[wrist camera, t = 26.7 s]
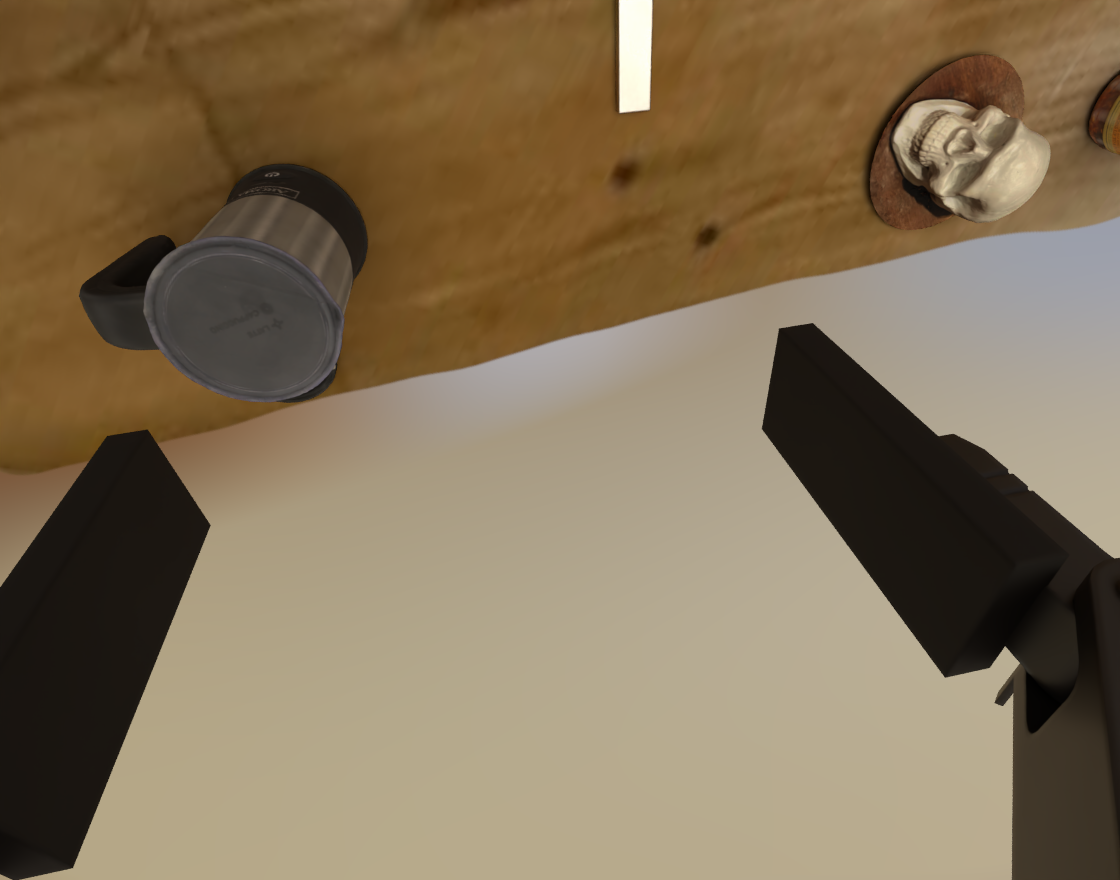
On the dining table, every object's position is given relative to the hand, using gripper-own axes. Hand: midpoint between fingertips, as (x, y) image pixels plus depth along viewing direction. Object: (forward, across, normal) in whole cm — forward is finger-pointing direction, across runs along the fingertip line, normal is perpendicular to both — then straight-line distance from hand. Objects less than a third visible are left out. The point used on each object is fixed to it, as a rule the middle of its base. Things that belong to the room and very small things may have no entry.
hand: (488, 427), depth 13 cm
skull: (+33, +36, -5) cm, 50 cm away
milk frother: (+34, -13, -9) cm, 37 cm away
